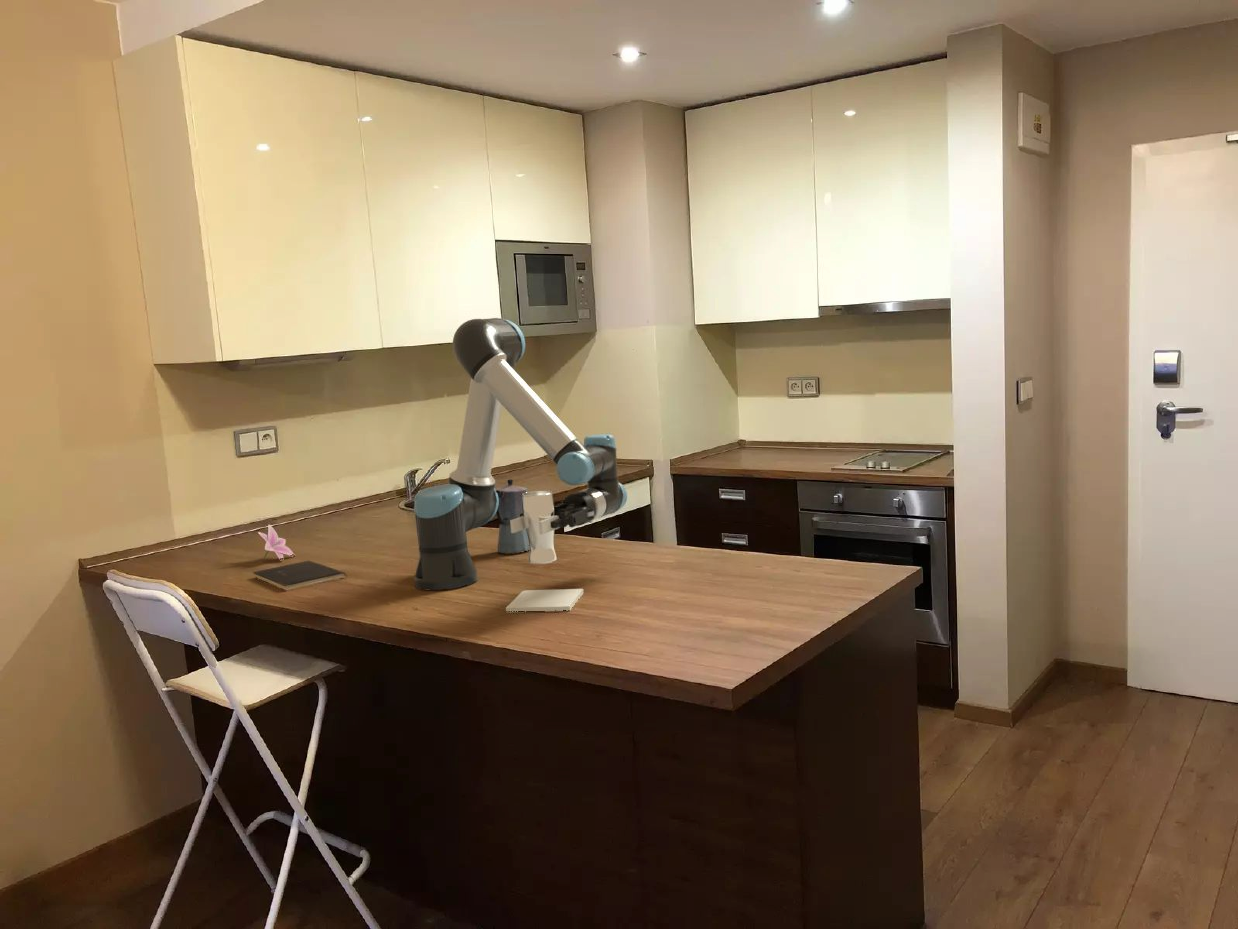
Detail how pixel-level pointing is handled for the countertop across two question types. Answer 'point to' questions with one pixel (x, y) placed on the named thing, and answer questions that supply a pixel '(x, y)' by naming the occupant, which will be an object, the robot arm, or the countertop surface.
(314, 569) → the hardcover book
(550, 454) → the robot arm
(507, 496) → the moka pot
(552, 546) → the beer glass
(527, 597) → the mat
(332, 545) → the countertop surface
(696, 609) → the countertop surface
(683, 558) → the countertop surface
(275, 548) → the lily
